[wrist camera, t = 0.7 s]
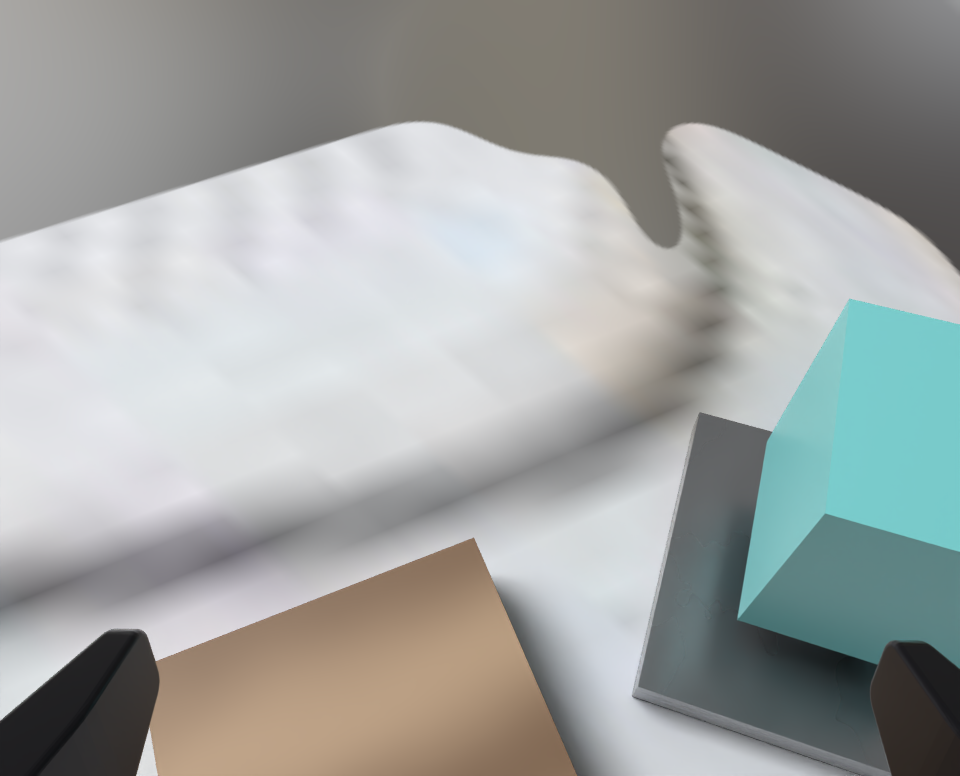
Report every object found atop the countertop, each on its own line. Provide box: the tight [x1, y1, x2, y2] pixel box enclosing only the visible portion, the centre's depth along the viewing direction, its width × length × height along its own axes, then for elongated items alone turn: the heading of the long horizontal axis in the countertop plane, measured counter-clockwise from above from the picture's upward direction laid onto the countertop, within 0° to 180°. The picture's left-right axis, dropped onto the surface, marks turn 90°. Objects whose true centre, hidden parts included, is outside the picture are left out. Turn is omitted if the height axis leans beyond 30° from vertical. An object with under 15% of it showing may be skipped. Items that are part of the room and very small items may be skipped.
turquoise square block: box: [737, 299, 960, 668], centre depth 20 cm, size 6×6×7 cm
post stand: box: [632, 413, 891, 776], centre depth 23 cm, size 10×10×7 cm
